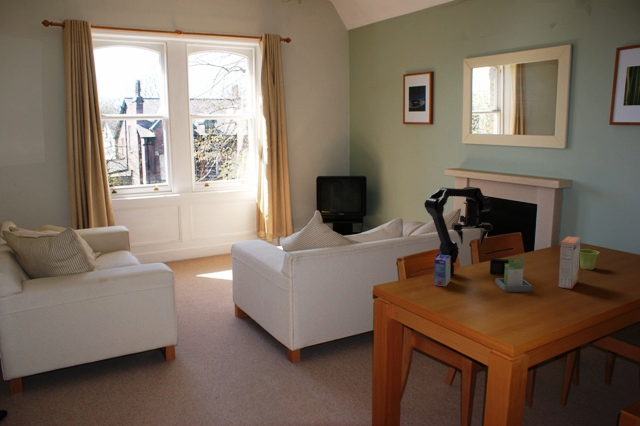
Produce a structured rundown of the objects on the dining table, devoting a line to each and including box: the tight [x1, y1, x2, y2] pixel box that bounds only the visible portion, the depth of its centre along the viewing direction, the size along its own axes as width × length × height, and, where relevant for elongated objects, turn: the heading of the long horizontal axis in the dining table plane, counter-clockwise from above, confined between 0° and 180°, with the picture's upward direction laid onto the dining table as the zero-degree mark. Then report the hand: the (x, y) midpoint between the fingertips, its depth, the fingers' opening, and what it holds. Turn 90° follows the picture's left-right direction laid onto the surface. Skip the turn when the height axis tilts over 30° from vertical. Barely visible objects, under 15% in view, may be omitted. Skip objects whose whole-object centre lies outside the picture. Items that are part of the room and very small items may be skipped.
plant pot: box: [579, 248, 600, 271], centre depth 272 cm, size 9×9×9 cm
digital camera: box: [489, 257, 515, 276], centre depth 262 cm, size 10×5×7 cm, turn 77°
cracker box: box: [558, 235, 581, 290], centre depth 244 cm, size 14×6×21 cm, turn 145°
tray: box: [494, 277, 533, 293], centre depth 242 cm, size 12×12×2 cm
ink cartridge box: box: [434, 250, 451, 287], centre depth 247 cm, size 10×6×14 cm, turn 155°
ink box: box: [503, 256, 525, 285], centre depth 241 cm, size 7×4×13 cm, turn 94°
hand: (471, 243), depth 269 cm, fingers open, 9 cm apart
